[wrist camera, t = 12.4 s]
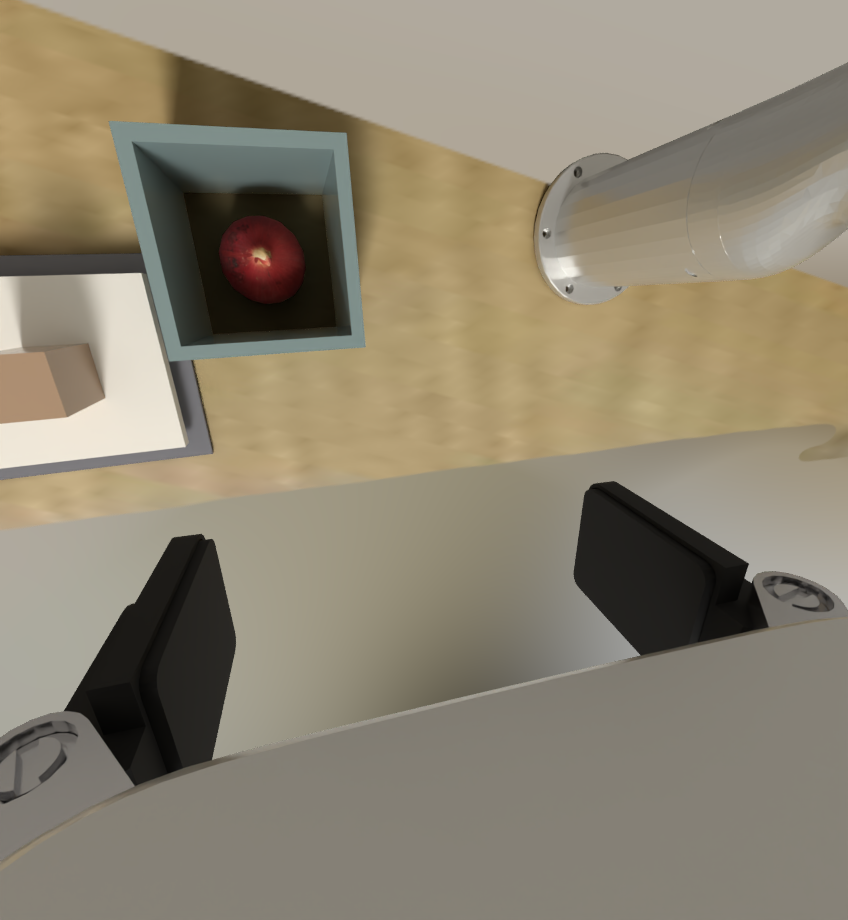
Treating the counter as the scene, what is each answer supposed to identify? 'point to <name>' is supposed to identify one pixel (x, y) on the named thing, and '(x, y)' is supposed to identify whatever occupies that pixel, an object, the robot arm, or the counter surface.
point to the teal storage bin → (241, 172)
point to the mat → (179, 369)
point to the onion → (262, 259)
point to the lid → (83, 370)
